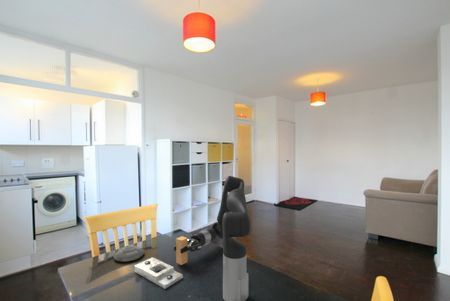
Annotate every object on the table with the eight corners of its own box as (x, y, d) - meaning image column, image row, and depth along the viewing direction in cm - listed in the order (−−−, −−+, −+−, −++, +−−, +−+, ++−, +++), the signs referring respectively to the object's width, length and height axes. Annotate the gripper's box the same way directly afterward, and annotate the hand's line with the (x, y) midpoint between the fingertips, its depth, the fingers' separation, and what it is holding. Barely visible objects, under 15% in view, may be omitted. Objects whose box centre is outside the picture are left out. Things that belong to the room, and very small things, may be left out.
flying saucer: (150, 253, 125) (150, 243, 125) (128, 266, 112) (128, 255, 112) (130, 248, 132) (130, 239, 132) (107, 260, 118) (107, 249, 118)
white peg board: (182, 277, 102) (182, 270, 102) (164, 289, 94) (164, 280, 94) (152, 263, 115) (152, 256, 115) (134, 271, 107) (134, 264, 107)
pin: (187, 261, 114) (187, 237, 114) (181, 265, 110) (181, 240, 110) (182, 259, 116) (182, 236, 116) (176, 262, 113) (176, 238, 113)
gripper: (191, 229, 129) (168, 239, 115) (211, 235, 121) (187, 246, 107) (191, 242, 129) (168, 253, 115) (211, 249, 121) (187, 262, 107)
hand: (177, 250), depth 111 cm, fingers closed on pin, 4 cm apart
